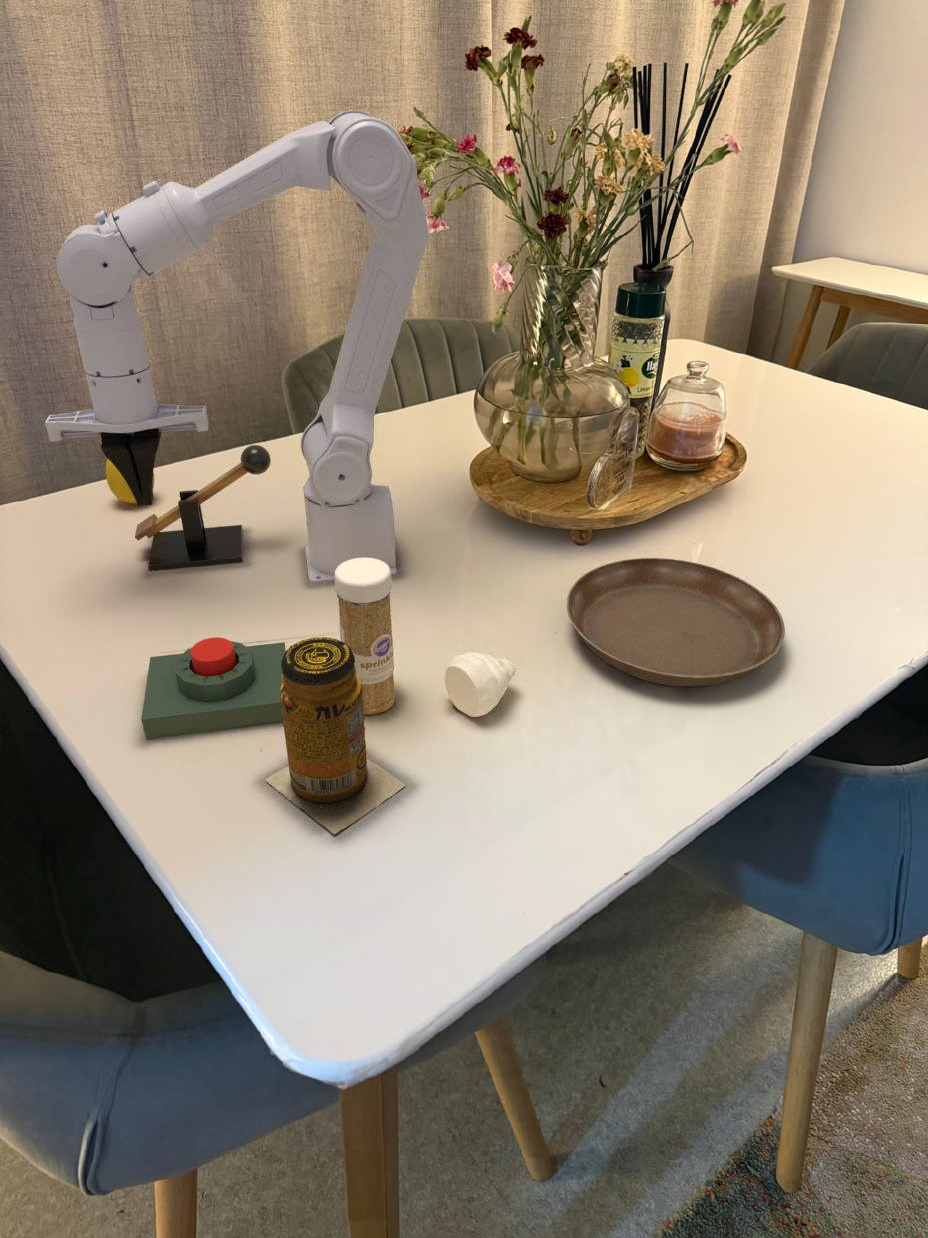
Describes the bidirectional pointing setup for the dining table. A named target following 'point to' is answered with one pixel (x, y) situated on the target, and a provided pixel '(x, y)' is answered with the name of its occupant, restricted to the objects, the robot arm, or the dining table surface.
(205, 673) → the button
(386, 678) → the sprinkles bottle
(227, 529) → the bracket
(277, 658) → the button box
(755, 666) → the plant saucer
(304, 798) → the condiment
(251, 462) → the lever
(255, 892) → the dining table surface
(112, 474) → the lemon
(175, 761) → the dining table surface
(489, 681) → the white meringue
